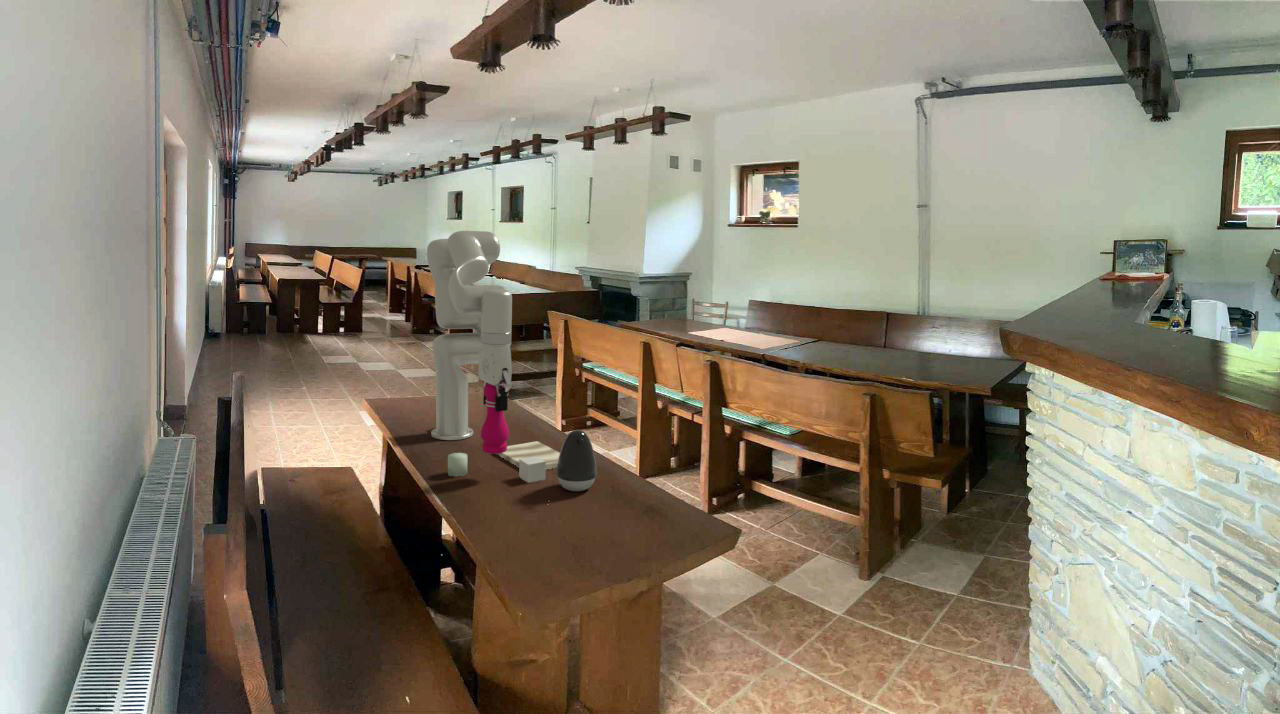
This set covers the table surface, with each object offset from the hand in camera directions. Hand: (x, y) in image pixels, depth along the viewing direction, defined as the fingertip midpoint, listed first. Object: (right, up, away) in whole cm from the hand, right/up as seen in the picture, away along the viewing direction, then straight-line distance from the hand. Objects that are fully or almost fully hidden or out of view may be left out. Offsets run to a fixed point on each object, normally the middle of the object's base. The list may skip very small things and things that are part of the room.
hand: (495, 406), depth 190 cm
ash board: (+7, -16, +19) cm, 26 cm away
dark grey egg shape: (+21, -21, -2) cm, 29 cm away
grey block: (+9, -19, +4) cm, 21 cm away
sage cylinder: (-11, -18, +5) cm, 22 cm away
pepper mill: (-1, -12, +2) cm, 12 cm away
